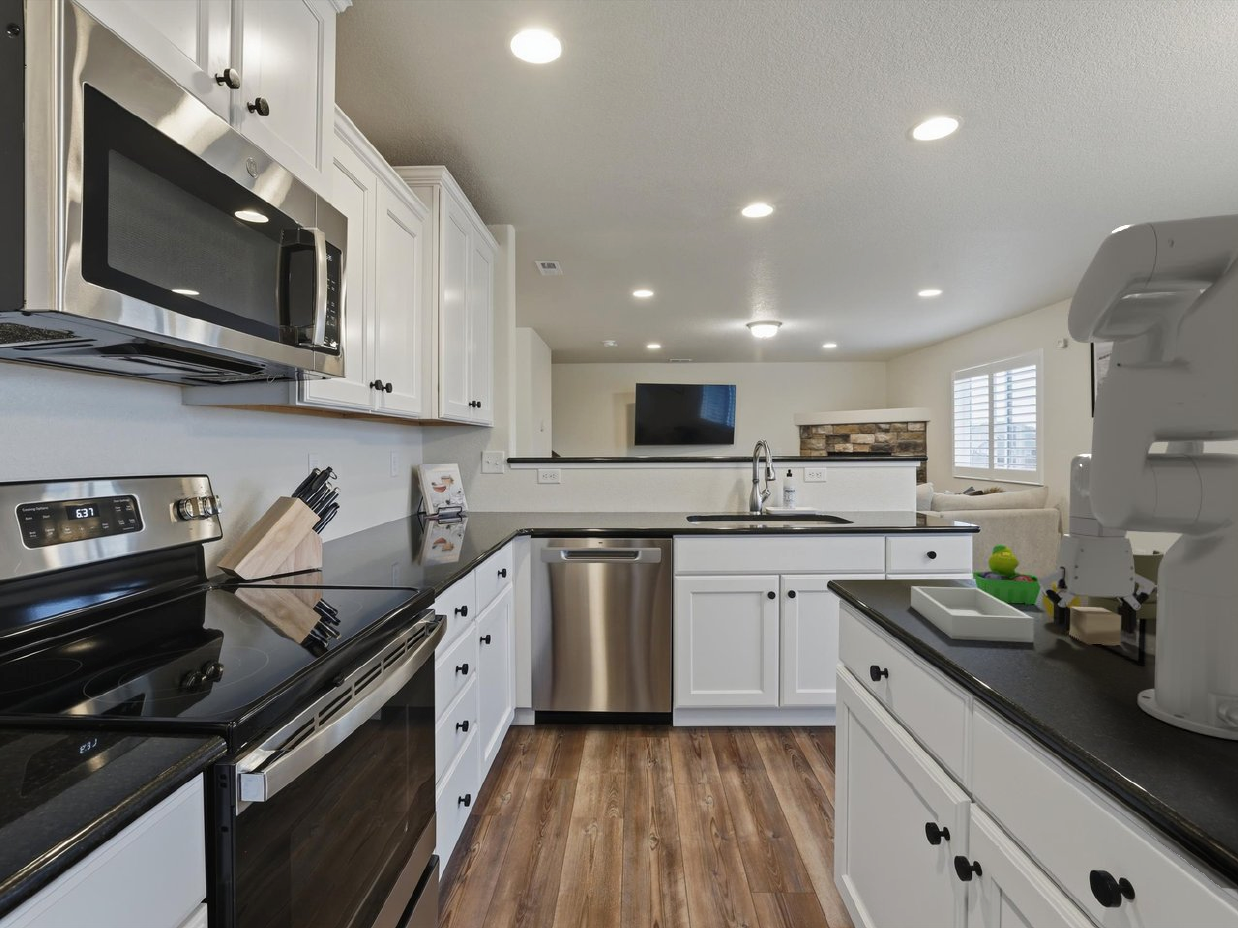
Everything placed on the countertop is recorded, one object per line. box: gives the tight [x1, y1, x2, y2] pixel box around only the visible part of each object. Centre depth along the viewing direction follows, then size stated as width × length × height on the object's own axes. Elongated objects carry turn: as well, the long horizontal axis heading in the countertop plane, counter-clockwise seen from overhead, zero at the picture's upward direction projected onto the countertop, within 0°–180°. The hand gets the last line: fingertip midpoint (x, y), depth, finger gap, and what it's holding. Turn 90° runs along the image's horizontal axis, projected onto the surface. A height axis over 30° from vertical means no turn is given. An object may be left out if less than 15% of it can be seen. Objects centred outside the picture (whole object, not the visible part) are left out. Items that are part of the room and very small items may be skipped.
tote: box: [910, 585, 1035, 643], centre depth 115 cm, size 22×13×4 cm, turn 172°
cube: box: [1068, 606, 1122, 646], centre depth 105 cm, size 5×5×5 cm
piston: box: [1087, 549, 1165, 620], centre depth 123 cm, size 11×12×11 cm
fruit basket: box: [972, 544, 1041, 605], centre depth 132 cm, size 11×9×11 cm
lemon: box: [1042, 582, 1081, 619], centre depth 114 cm, size 6×6×8 cm
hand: (1093, 629), depth 105 cm, fingers open, 9 cm apart
